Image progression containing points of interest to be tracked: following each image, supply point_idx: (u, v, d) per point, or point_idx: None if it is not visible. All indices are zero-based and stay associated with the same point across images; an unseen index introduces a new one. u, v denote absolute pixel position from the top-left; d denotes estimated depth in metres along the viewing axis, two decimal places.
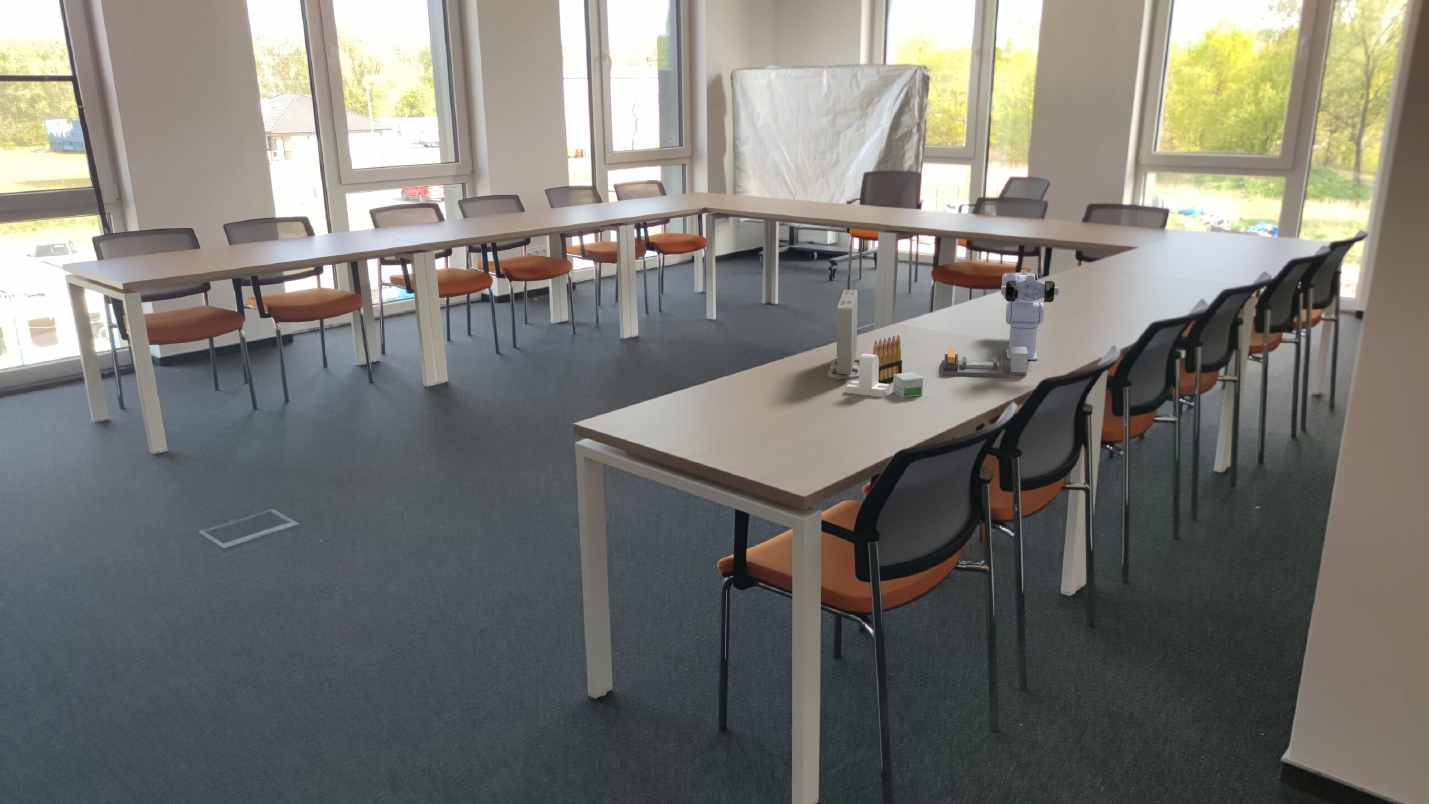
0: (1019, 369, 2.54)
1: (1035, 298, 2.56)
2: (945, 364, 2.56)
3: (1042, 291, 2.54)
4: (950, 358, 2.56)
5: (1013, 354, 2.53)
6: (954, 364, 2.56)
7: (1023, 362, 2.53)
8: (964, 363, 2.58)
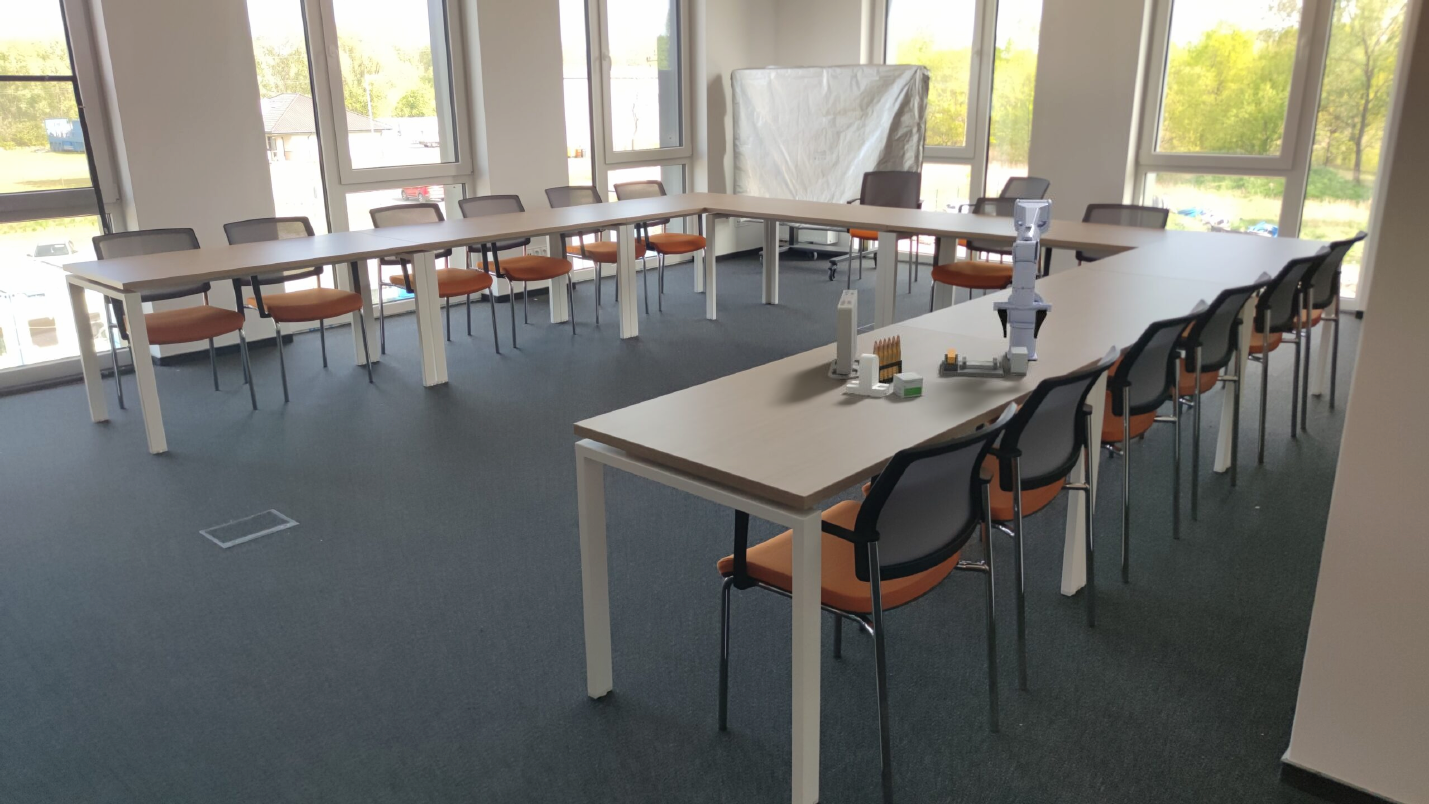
0: (1019, 369, 2.54)
1: None
2: (945, 364, 2.56)
3: None
4: (950, 358, 2.56)
5: (1013, 354, 2.53)
6: (954, 364, 2.56)
7: (1023, 362, 2.53)
8: (964, 363, 2.58)
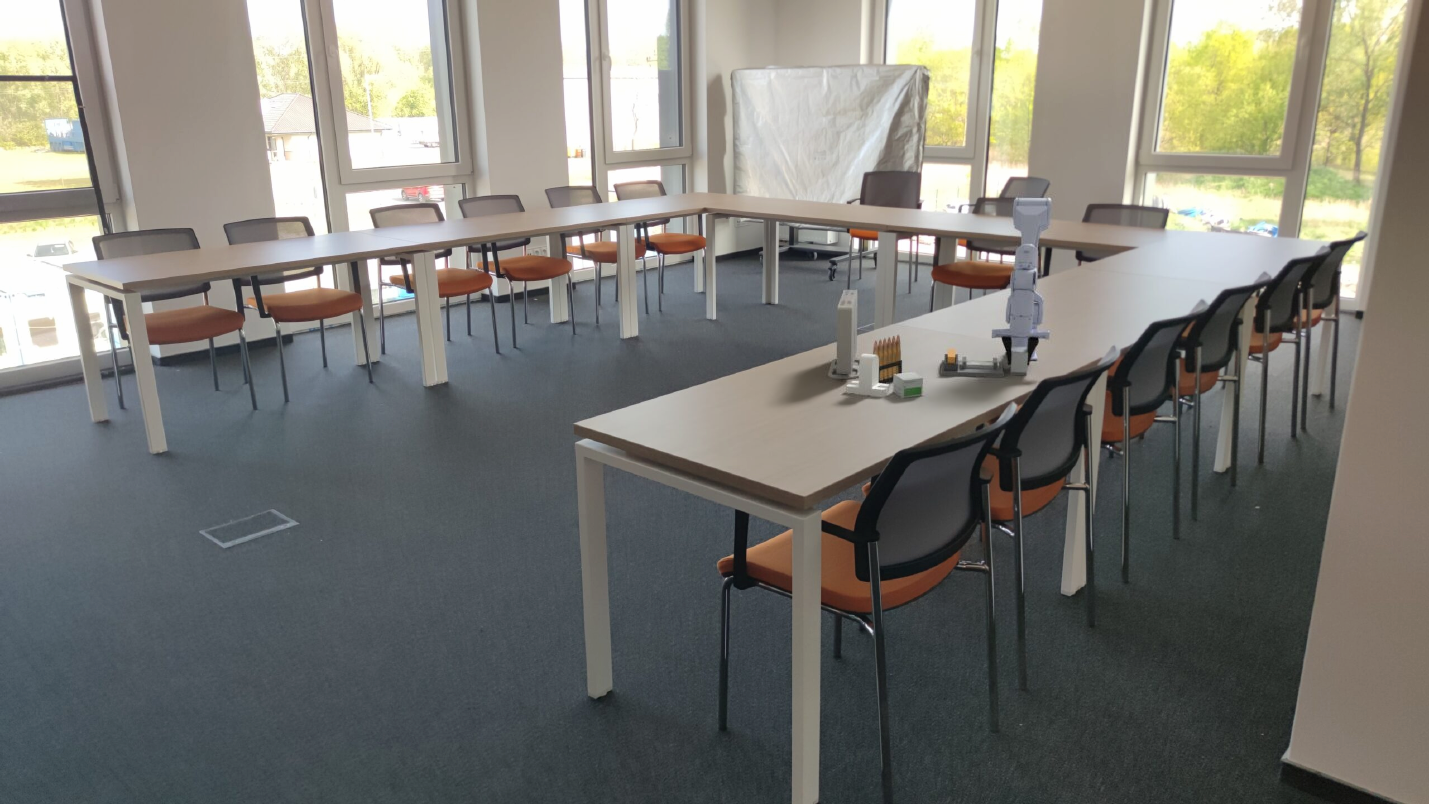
0: (1019, 369, 2.54)
1: None
2: (945, 364, 2.56)
3: None
4: (950, 358, 2.56)
5: (1013, 354, 2.53)
6: (954, 364, 2.56)
7: (1023, 362, 2.53)
8: (964, 363, 2.58)
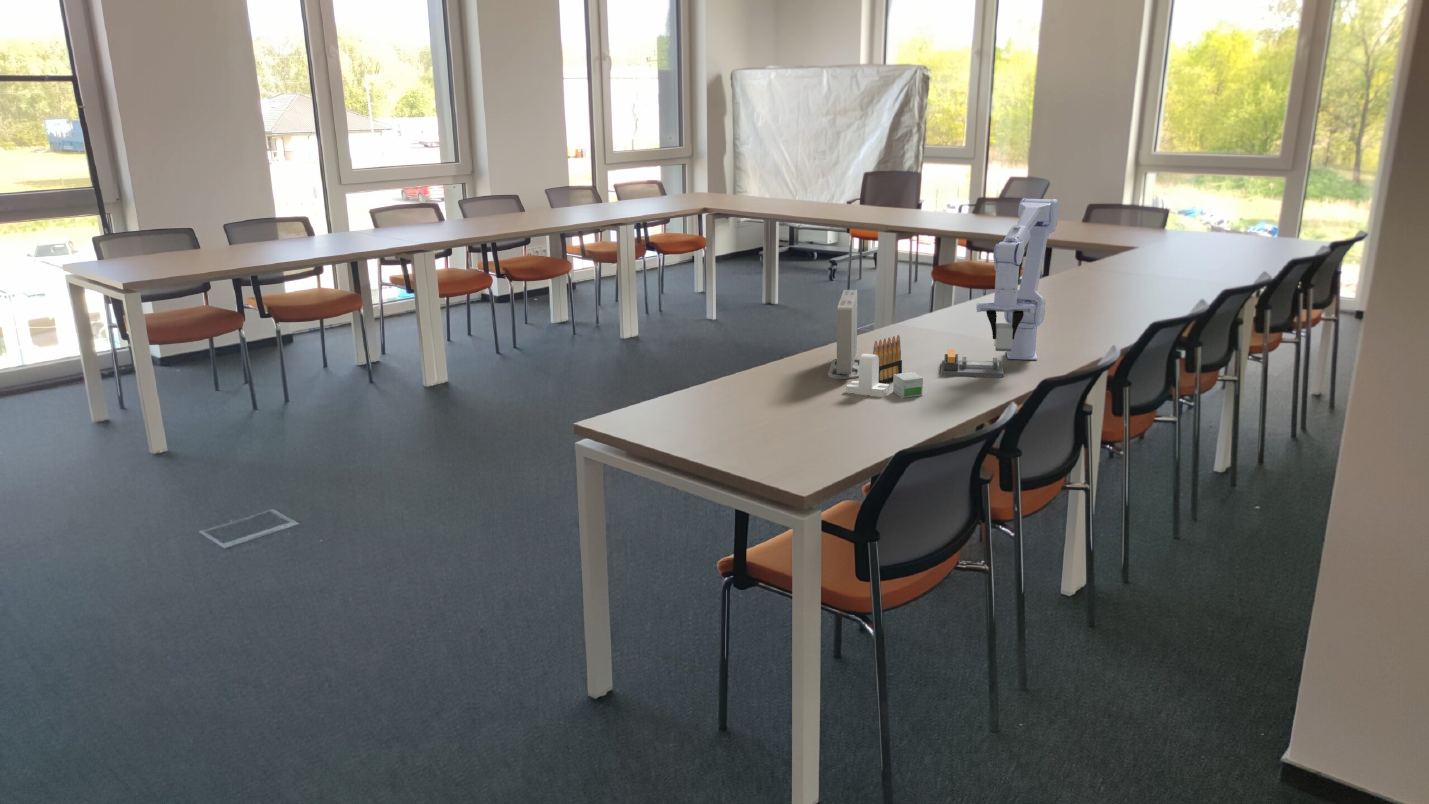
0: (1004, 346, 2.52)
1: None
2: (945, 364, 2.56)
3: None
4: (950, 358, 2.56)
5: (998, 330, 2.52)
6: (954, 364, 2.56)
7: (1008, 338, 2.52)
8: (964, 363, 2.58)
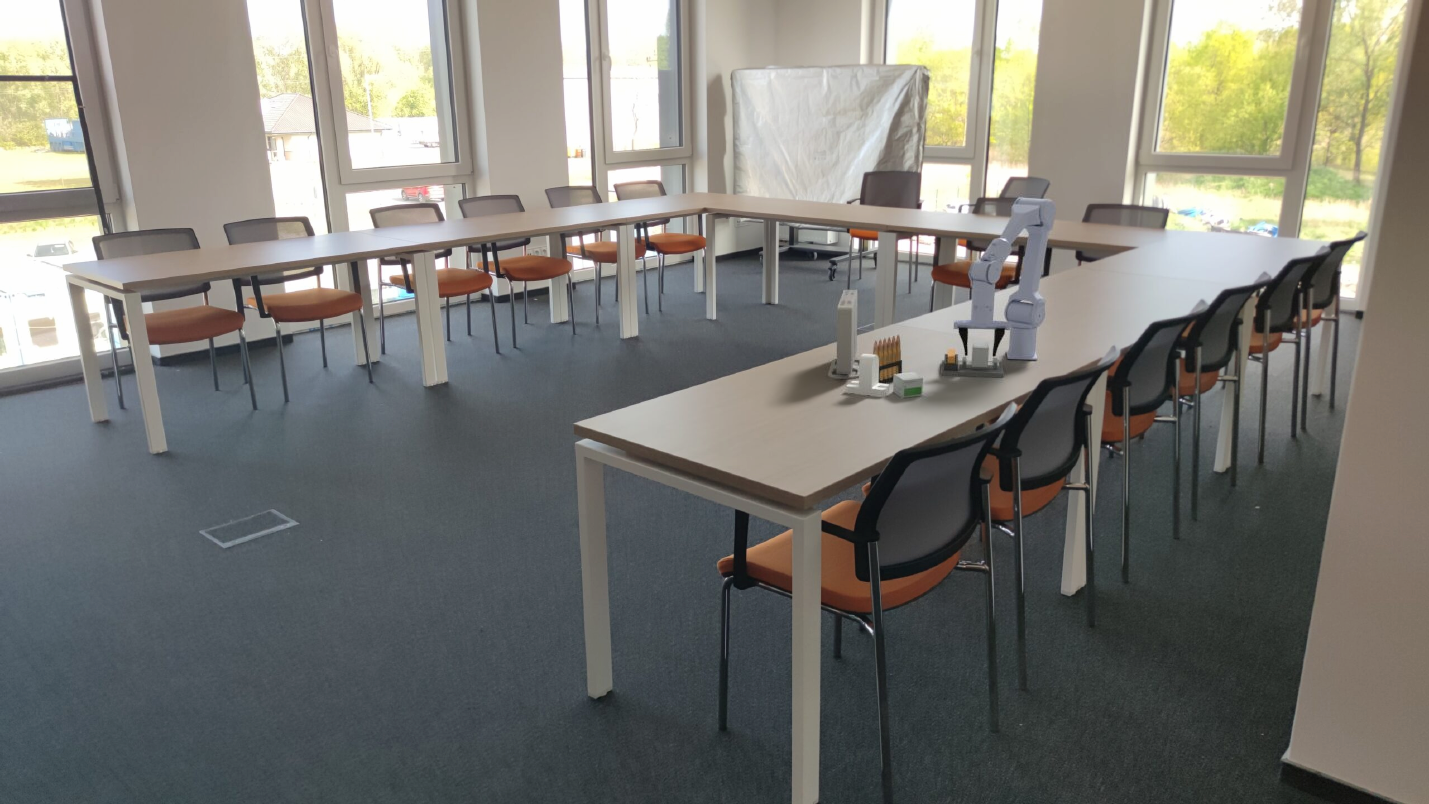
0: (980, 364, 2.55)
1: None
2: (945, 364, 2.56)
3: None
4: (950, 358, 2.56)
5: (974, 349, 2.55)
6: (954, 364, 2.56)
7: (984, 356, 2.55)
8: (964, 363, 2.58)
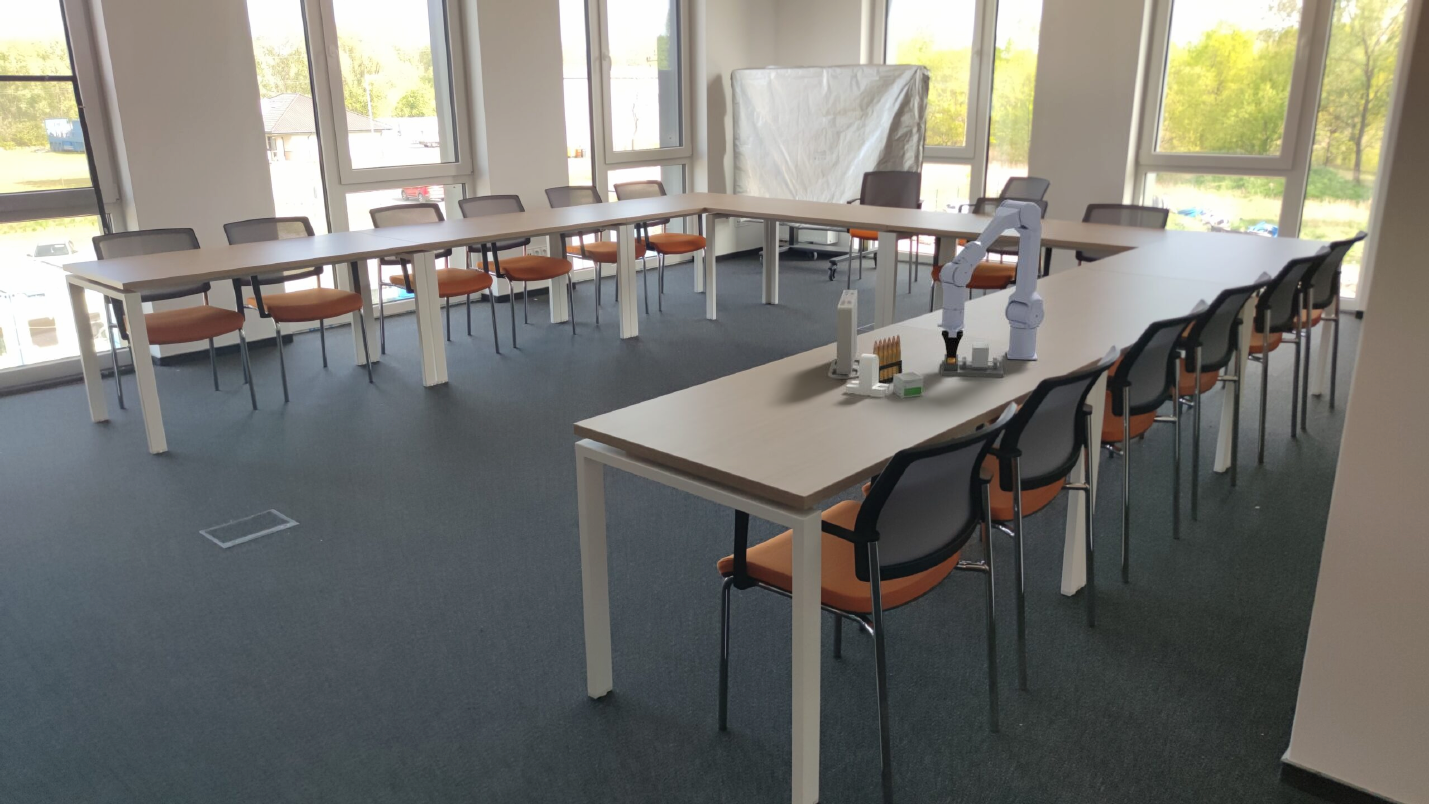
0: (980, 364, 2.55)
1: None
2: (945, 364, 2.56)
3: None
4: (950, 362, 2.57)
5: (974, 349, 2.55)
6: (954, 364, 2.56)
7: (984, 356, 2.55)
8: (964, 363, 2.58)
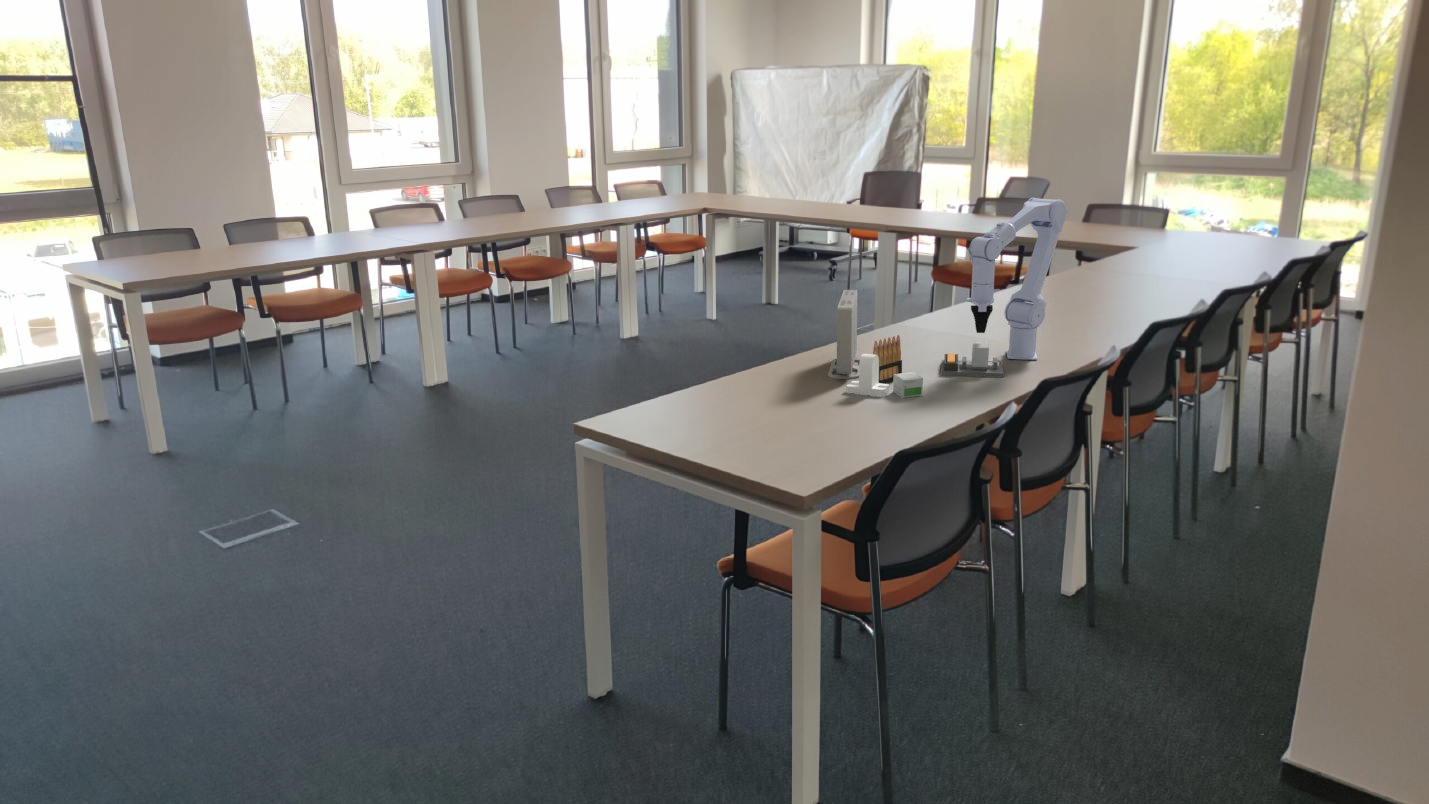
0: (980, 364, 2.55)
1: None
2: (945, 364, 2.56)
3: None
4: (950, 362, 2.57)
5: (974, 349, 2.55)
6: (954, 364, 2.56)
7: (984, 356, 2.55)
8: (964, 363, 2.58)
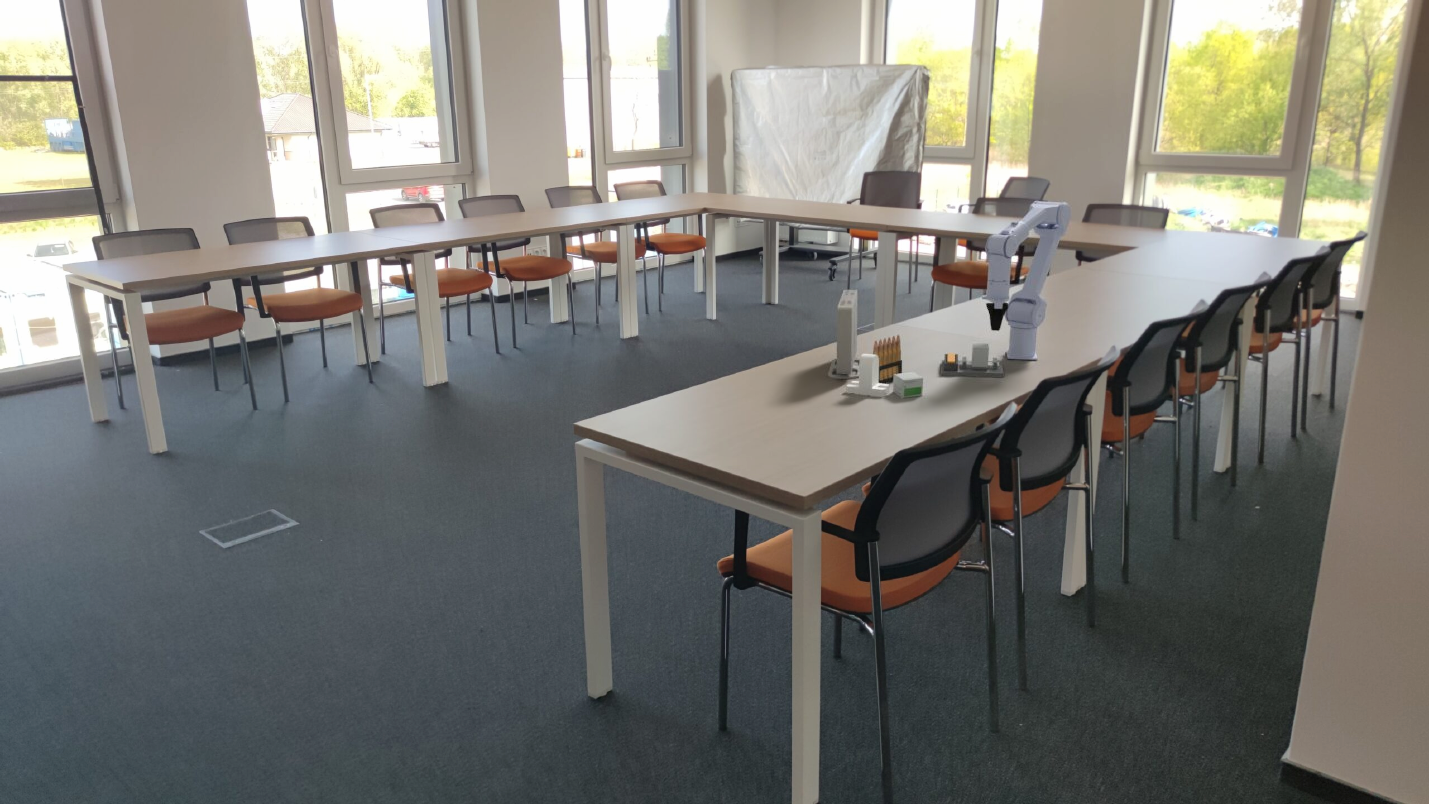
0: (980, 364, 2.55)
1: None
2: (945, 364, 2.56)
3: None
4: (950, 362, 2.57)
5: (974, 349, 2.55)
6: (954, 364, 2.56)
7: (984, 356, 2.55)
8: (964, 363, 2.58)
